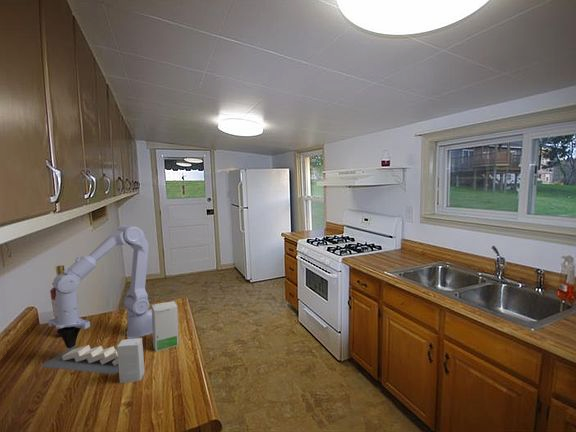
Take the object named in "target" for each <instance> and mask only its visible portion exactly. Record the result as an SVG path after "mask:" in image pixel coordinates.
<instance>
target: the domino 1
mask: <svg viewBox="0 0 576 432" xmlns="http://www.w3.org/2000/svg"><path fill="white" fill-rule="evenodd" d="M79 347H80V346H79ZM90 348H91V346H90V344H87V345H84V346H81V347H80V348H76V349H73V350H71V351H70V352H68V353H67V354H65V355H63V356H62V359H63V361H65V360H68V359H71V358H75V357H78V356H81V355H82V354H84V353H85V352H87V351H88V350H90Z"/></svg>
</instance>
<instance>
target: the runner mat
mask: <svg viewBox="0 0 576 432" xmlns="http://www.w3.org/2000/svg"><path fill="white" fill-rule="evenodd" d="M76 348H80V346H73V347H72V348H66V349H65V350H64V351H62V352H61V353H59V354H58V355H55V356H54V357H53V358H50V359H49V360H48V361H46V362H44V363H43V364H41V365H40V367H41V368H51V369H58V370H59V369H60V370H70V371H78V372H79V371H80V372H88V373H89V372H90V373H94V374H95V373H97V374H106V375H116V374H118V373H119V367H118V364H117V365H116V366H114V365H113V363H112V362H113V361H114V360H115V359H116V358H117V357H116V358H115V359H113V360H111V361H109V362H107V363H105V364H103V365H102V364H101V362H100V360H101V359H100V360H97V361H94V362H92V363H89V362H88V360H87V359H85V360H81V361H78V362H76V361H75V358H71V359H68V360H65V361H63V359H62V356H63V355H65V354H67V353H68V352H70V351H71V350H73V349H76ZM90 349H92V348H91V347H90Z"/></svg>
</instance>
